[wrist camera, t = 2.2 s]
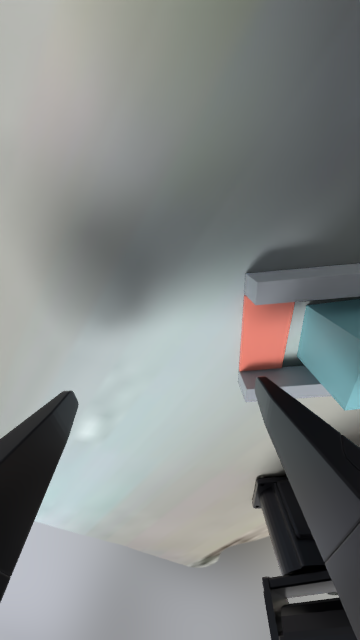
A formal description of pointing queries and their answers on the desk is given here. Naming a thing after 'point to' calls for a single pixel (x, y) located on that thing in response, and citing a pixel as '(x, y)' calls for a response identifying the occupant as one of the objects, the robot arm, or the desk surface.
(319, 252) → the desk surface
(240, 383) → the channel
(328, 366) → the teal block
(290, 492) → the robot arm
